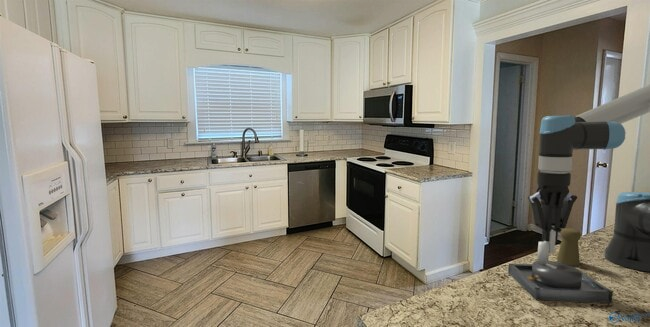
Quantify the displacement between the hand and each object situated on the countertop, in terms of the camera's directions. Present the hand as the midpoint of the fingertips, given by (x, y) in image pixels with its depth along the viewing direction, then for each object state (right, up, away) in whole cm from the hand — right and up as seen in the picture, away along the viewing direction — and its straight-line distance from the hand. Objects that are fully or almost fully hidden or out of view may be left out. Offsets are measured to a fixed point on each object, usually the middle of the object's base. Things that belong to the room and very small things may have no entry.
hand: (548, 251), depth 90 cm
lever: (-1, -7, -3) cm, 8 cm away
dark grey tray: (0, -9, -3) cm, 9 cm away
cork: (+15, -7, +12) cm, 21 cm away
